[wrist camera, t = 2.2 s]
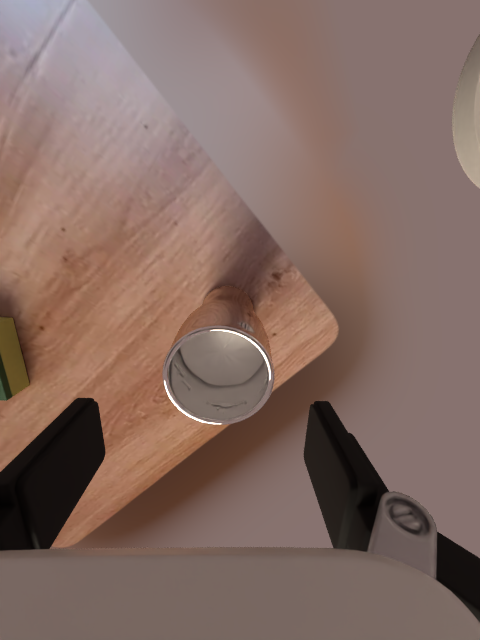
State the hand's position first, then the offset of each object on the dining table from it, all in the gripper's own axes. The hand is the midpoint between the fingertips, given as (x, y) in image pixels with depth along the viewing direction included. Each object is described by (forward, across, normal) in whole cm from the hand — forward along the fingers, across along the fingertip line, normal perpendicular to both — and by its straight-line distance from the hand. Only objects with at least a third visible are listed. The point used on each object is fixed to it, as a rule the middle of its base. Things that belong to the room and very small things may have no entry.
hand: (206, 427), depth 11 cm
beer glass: (+19, 0, 0) cm, 19 cm away
